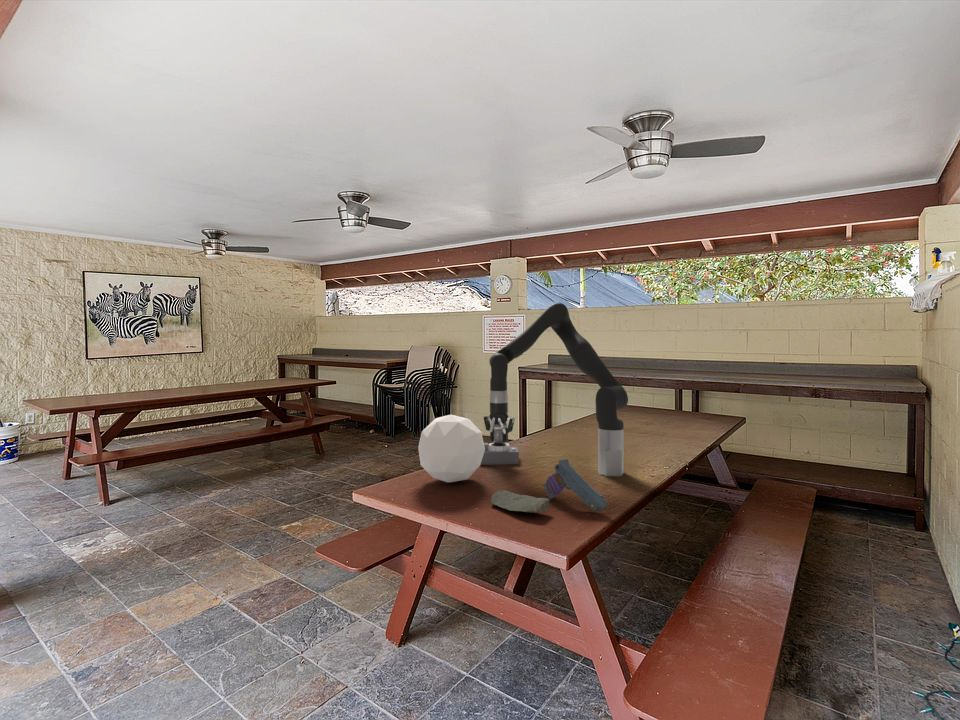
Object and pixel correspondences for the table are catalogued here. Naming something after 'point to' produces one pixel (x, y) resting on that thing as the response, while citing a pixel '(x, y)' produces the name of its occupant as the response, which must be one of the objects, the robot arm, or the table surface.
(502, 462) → the camera body
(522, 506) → the stone
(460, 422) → the geometric sphere
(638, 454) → the table surface
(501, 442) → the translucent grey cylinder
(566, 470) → the toy gun
